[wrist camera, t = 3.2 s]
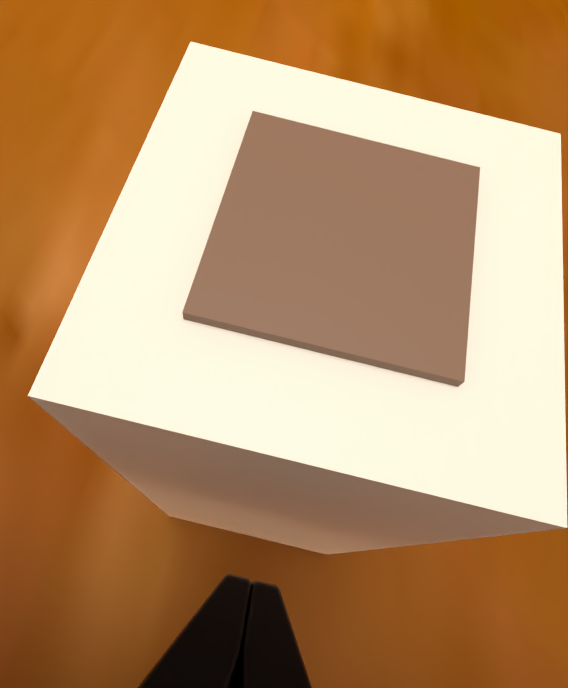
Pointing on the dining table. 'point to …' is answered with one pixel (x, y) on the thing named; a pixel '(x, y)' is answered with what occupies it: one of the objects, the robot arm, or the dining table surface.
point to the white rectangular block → (325, 315)
